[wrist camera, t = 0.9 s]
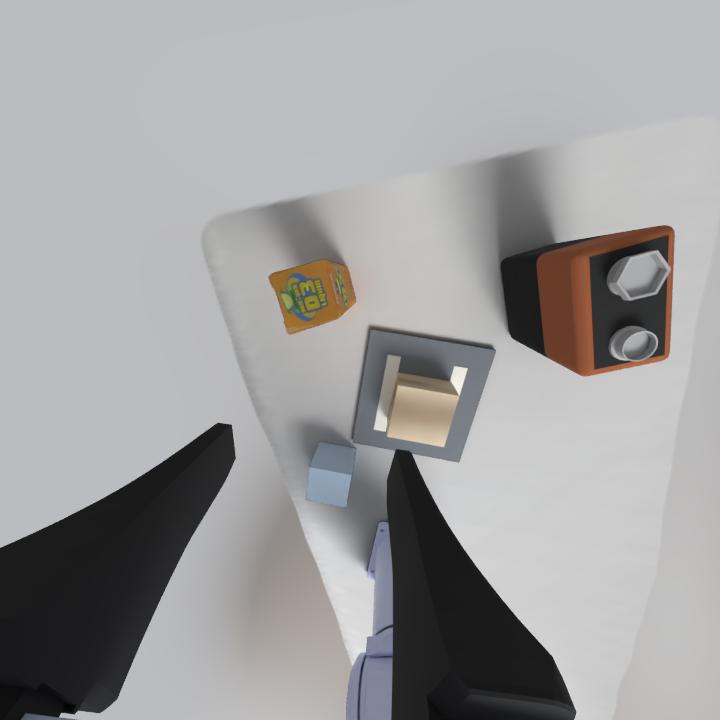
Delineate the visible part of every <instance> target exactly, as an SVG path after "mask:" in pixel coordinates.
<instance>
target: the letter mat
mask: <svg viewBox="0 0 720 720" xmlns="http://www.w3.org/2000/svg"><path fill="white" fill-rule="evenodd" d="M495 353H496V350H495V349H490V348H484V347H478V346H472V345H466V344H460V343H454V342H448V341H442V340H436V339H430V338H424V337H418V336H412V335H406V334H400V333H393V332H387V331H381V330H375V329H371V331H370V337H369V343H368V350H367V356H366V362H365V368H364V374H363V380H362V386H361V393H360V399H359V405H358V411H357V417H356V423H355V430H354V436H353V443H358V444H363V445H369V446H374V447H379V448H385V449H390V450H395V451H396V449H401V450H407V451H410V452H411V453H412V454H417V455H422V456H427V457H432V458H438V459H443V460H448V461H454V462H459V461H460V458H461V455H462V452H463V449H464V446H465V443H466V440H467V437H468V434H469V431H470V428H471V425H472V422H473V419H474V416H475V413H476V410H477V407H478V404H479V401H480V398H481V395H482V392H483V389H484V386H485V383H486V380H487V377H488V374H489V371H490V368H491V365H492V362H493V359H494V356H495ZM397 372H400V373H405V374H411V375H417V376H423V377H429V378H434V379H440V380H446V381H451V382H452V384H453V386H454V387H455V389H456V391H457V393H458V394H459V399H458V403H457V406H456V409H455V413H454V416H453V419H452V423H451V426H450V429H449V432H448V436H447V439H446V442H445V446H444V447H440V446H434V445H429V444H424V443H418V442H413V441H408V440H402V439H397V438H391V437H387V417H388V412H389V407H390V403H391V398H392V393H393V388H394V383H395V378H396V374H397Z"/></svg>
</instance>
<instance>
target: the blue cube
mask: <svg viewBox="0 0 720 720" xmlns="http://www.w3.org/2000/svg"><path fill="white" fill-rule="evenodd" d="M355 453H356V448H350V447H345V446H340V445H335V444H329V443H324V442H319V444H318V447H317V449H316V452H315V454H314V456H313V459H312V461H311V464H310V466H309V474H308V483H307V493H306V500H309V501H314V502H318V503H323V504H328V505H333V506H338V507H343V508H346V505H347V499H348V494H349V488H350V482H351V477H352V471H353V465H354V459H355Z"/></svg>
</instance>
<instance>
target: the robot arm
mask: <svg viewBox="0 0 720 720" xmlns="http://www.w3.org/2000/svg"><path fill="white" fill-rule="evenodd" d="M235 458H236V457H235V448H234V440H233V432H232V425H229V424H222V423H217V424H215V425H214V426H213V427H211V428H210V429H209V430H207V431H206V432H204V433H203V434H201V435H200V436H199V437H197V438H196V439H195V440H193V441H192V442H190V443H189V444H188V445H186V446H185V447H184V448H182V449H181V450H179V451H178V452H176V453H175V454H174V455H172V456H171V457H169V458H168V459H167V460H165V461H163V462H162V463H160V464H159V465H157V466H156V467H154V468H153V469H151V470H150V471H148V472H147V473H145V474H143V475H142V476H140V477H139V478H137V479H136V480H134V481H132V482H131V483H129V484H127V485H126V486H124V487H122V488H120V489H119V490H117V491H115V492H114V493H112V494H110V495H108V496H106V497H105V498H103V499H101V500H99V501H97V502H95V503H93V504H91V505H90V506H88V507H86V508H84V509H82V510H80V511H78V512H76V513H74V514H72V515H70V516H68V517H66V518H64V519H62V520H60V521H58V522H56V523H54V524H52V525H50V526H48V527H46V528H43V529H41V530H39V531H37V532H35V533H33V534H31V535H28V536H27V537H24V538H22V539H20V540H17V541H15V542H13V543H10V544H8V545H6V546H4V547H1V548H0V720H75V719H67V718H59V716H60V714H61V713H68V714H75V713H76V712H77V711H78V710H79V711H86V712H94V713H100V712H102V711H104V710H105V709H106V708H108V707H109V706H110V705H111V704H112V703H113V702H115V700H117V698H118V696H119V693H120V691H121V688H122V686H123V683H124V681H125V679H126V676H127V674H128V672H129V669H130V667H131V665H132V662H133V659H134V658H135V655H136V653H137V650H138V648H139V646H140V643H141V641H142V639H143V637H144V634H145V632H146V630H147V628H148V626H149V623H150V621H151V619H152V616H153V614H154V612H155V610H156V608H157V605H158V603H159V601H160V599H161V597H162V595H163V593H164V591H165V588H166V587H167V584H168V582H169V580H170V578H171V576H172V574H173V572H174V570H175V568H176V566H177V564H178V562H179V560H180V558H181V556H182V554H183V552H184V550H185V548H186V546H187V544H188V542H189V541H190V539H191V537H192V535H193V534H194V532H195V530H196V528H197V527H198V525H199V524H200V522H201V520H202V519H203V517H204V515H205V514H206V512H207V511H208V509H209V507H210V506H211V504H212V502H213V501H214V499H215V497H216V496H217V494H218V492H219V491H220V489H221V487H222V486H223V484H224V482H225V480H226V478H227V476H228V474H229V472H230V470H231V467H232V465H233V463H234V461H235ZM387 512H388V523H387V522H380V523H379V524H378V528H377V533H376V537H375V541H374V546H373V550H372V554H371V559H370V563H369V567H368V572H367V577H368V578H369V579H371V580H375V587H374V609H373V632H372V636H371V637H367V647H366V653H360V654H359V655H358V657H357V659H356V662H355V663H354V665H353V667H352V670H351V673H350V678H349V684H348V693H347V705H346V720H574V718H575V715H576V710H575V707H574V705H573V702H572V700H571V697H570V695H569V693H568V690H567V687H566V685H565V683H564V680H563V678H562V676H561V674H560V672H559V670H558V668H557V666H556V663H555V661H554V659H553V657H552V656H551V655H550V654H549V652H548V651H547V650H546V649H545V648H544V647H543V646H542V645H541V644H540V643H539V642H538V640H537V639H536V638H535V637H534V636H533V635H532V634H531V633H530V632H529V631H528V629H527V628H526V627H525V626H524V625H523V624H522V623H521V622H520V620H519V619H518V618H517V617H516V616H515V615H514V613H513V612H512V611H511V610H510V609H509V607H508V606H507V605H506V604H505V603H504V601H503V600H502V599H501V598H500V597H499V595H498V594H497V593H496V591H495V590H494V589H493V588H492V586H491V585H490V584H489V582H488V581H487V580H486V579H485V577H484V576H483V575H482V573H481V572H480V571H479V570H478V568H477V567H476V566H475V564H474V563H473V561H472V560H471V559H470V557H469V556H468V554H467V553H466V551H465V550H464V549H463V547H462V546H461V544H460V543H459V541H458V540H457V538H456V537H455V535H454V534H453V532H452V530H451V529H450V527H449V526H448V524H447V522H446V521H445V519H444V517H443V515H442V514H441V512H440V510H439V509H438V507H437V505H436V503H435V501H434V499H433V498H432V496H431V494H430V492H429V490H428V488H427V486H426V484H425V482H424V480H423V478H422V476H421V474H420V471H419V469H418V467H417V465H416V462H415V460H414V458H413V455H412V453H411V452H410V451H407V450H401V449H396V451H395V454H394V458H393V461H392V465H391V468H390V472H389V475H388V479H387Z"/></svg>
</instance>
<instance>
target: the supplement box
mask: <svg viewBox="0 0 720 720" xmlns="http://www.w3.org/2000/svg"><path fill="white" fill-rule="evenodd" d="M268 278H269V281H270V283H271V285H272V287H273V288H274V290H275V292H276V295H277V299H278V301H279V305H280V308H281V311H282V314H283V317H284V324H285V327H286V331H287V333H288V334H290V335H291V334H294V333H297V332H300V331H303V330H306V329H309V328H312V327H315V326H318V325H321V324H324V323H327V322H330V321H333V320H336V319H338V318H339V317H340V316H341V315H343V314H344V313H345V312H346V311H347V310H348V309H349V308H350V307H351V306H352V305H353V304H354V303H355V302H356V298H355V293H354V289H353V285H352V282H351V278H350V274H349V271H348V268H347V267H346V266H343V265H340V264H337V263H334V262H331V261H328V260H319V261H316V262H312V263H309V264H305V265H301V266H297V267H293V268H290V269H286V270H282V271H278V272H274V273H272V274H271V275H270V276H269V277H268Z"/></svg>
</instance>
